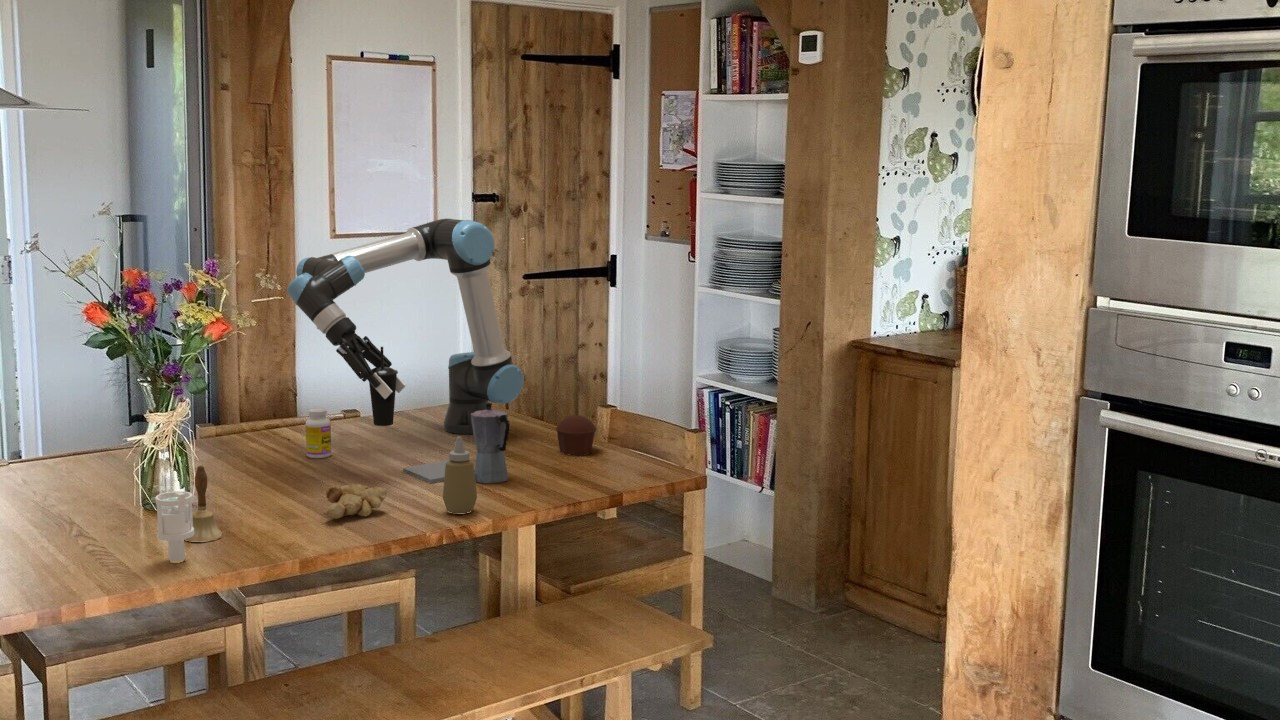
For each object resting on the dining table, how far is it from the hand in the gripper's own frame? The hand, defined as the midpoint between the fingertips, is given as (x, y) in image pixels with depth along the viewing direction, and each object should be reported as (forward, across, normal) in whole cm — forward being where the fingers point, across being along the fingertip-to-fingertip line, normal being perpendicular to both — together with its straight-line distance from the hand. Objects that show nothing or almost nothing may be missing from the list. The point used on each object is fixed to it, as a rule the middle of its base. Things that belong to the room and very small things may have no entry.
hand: (395, 392), depth 318 cm
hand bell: (+3, +57, -29) cm, 64 cm away
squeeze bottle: (+35, +23, +3) cm, 42 cm away
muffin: (+41, -40, +9) cm, 58 cm away
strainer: (+5, +72, -26) cm, 76 cm away
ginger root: (+18, +31, -14) cm, 38 cm away
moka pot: (+33, -5, +1) cm, 34 cm away
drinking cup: (+4, 0, -9) cm, 9 cm away
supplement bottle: (-5, -13, -37) cm, 40 cm away
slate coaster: (+22, -7, -10) cm, 25 cm away
